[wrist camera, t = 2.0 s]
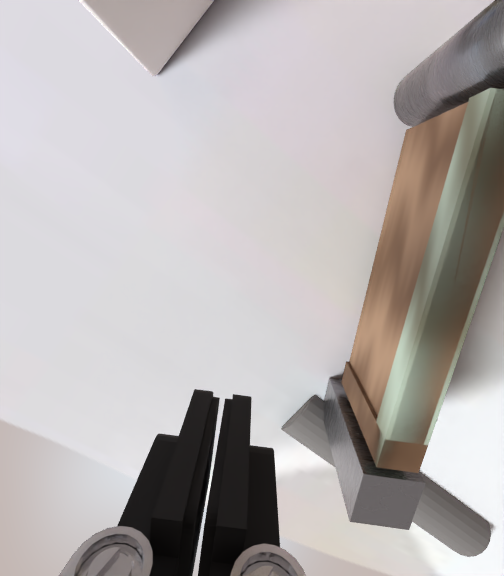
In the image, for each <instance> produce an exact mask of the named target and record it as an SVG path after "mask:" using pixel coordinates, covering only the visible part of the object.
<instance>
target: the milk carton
mask: <svg viewBox="0 0 504 576" xmlns="http://www.w3.org/2000/svg"><path fill="white" fill-rule="evenodd" d="M78 1H79V2H80V3H81V4H82V5H83V6H84V7H85V8H86V9H87V10H88V11H89V12H90V13H91V14H92V15H93V16H94V17H95V18H96V19H97V20H98V21H99V22H100V23H101V24H102V25H103V26H104V27H105V28H106V29H107V30H108V31H109V32H110V33H111V34H112V35H113V36H114V37H115V38H116V39H117V40H118V42H119V43H120V44H121V45H122V46H123V47H124V48H125V49H126V50H127V51H128V52H129V53H130V54H131V55H132V56H133V57H134V58H135V59H136V60H137V61H138V62H139V63H140V64H141V65H142V66H143V67H144V68H145V69H146V70H147V71H148V72H149V73H150V74H151V75H152V76H156V75H157V74H158V73H159V72H160V70H161V69H162V68H163V67H164V65H165V64H166V63H167V61H168V60H169V59H170V57H171V56H172V55H173V54H174V52H175V51H176V50H177V48H178V47H179V46H180V44H181V43H182V42H183V41H184V39H185V38H186V37H187V35H188V34H189V33H190V31H191V30H192V29H193V27H194V26H195V25H196V24H197V22H198V21H199V20H200V18H201V17H202V16H203V14H204V13H205V12H206V10H207V9H208V8H209V7H210V5H211V4H212V3H213V1H214V0H78Z"/></svg>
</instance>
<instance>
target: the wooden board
mask: <svg viewBox="0 0 504 576" xmlns="http://www.w3.org/2000/svg"><path fill="white" fill-rule="evenodd" d="M503 228H504V89H497V88H489V89H487V90H485V91H483V92H481V93H479V94H477V95H475V96H472V97H470V98H469V101H468V102H467V103H464V104H462V105H460V106H458V107H456V108H454V109H451V110H449V111H447V112H445V113H443V114H440V115H438V116H436V117H434V118H432V119H430V120H427V121H425V122H423V123H421V124H419V125H417V126H414V127H412V128H410V129H408V130H406V133H405V137H404V142H403V146H402V150H401V154H400V158H399V162H398V166H397V170H396V174H395V178H394V182H393V186H392V190H391V194H390V198H389V203H388V207H387V211H386V215H385V219H384V223H383V227H382V231H381V235H380V239H379V243H378V247H377V251H376V255H375V260H374V264H373V268H372V272H371V276H370V280H369V284H368V288H367V292H366V296H365V300H364V304H363V308H362V312H361V316H360V321H359V325H358V329H357V333H356V337H355V341H354V345H353V349H352V353H351V357H350V361H349V362H347V361H346V365H345V369H344V373H343V378H342V385H343V387H344V390H345V392H346V395H347V397H348V399H349V402H350V404H351V407H352V409H353V412H354V414H355V416H356V419H357V421H358V424H359V426H360V428H361V431H362V433H363V436H364V438H365V441H366V443H367V445H368V448H369V450H370V453H371V455H372V458H373V460H374V462H375V465H376V467H379V468H386V469H393V470H400V471H407V472H414V473H419V470H420V467H421V464H422V461H423V458H424V455H425V452H426V450H427V447H428V444H429V441H430V438H431V435H432V432H433V429H434V427H435V424H436V421H437V418H438V415H439V412H440V409H441V406H442V404H443V401H444V398H445V395H446V392H447V389H448V386H449V384H450V381H451V378H452V375H453V372H454V369H455V366H456V363H457V361H458V358H459V355H460V352H461V349H462V346H463V343H464V340H465V338H466V335H467V332H468V329H469V326H470V323H471V320H472V317H473V315H474V312H475V309H476V306H477V303H478V300H479V297H480V294H481V292H482V289H483V286H484V283H485V280H486V277H487V274H488V271H489V269H490V266H491V263H492V260H493V257H494V254H495V251H496V248H497V246H498V243H499V240H500V237H501V234H502V231H503Z"/></svg>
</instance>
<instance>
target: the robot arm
mask: <svg viewBox="0 0 504 576" xmlns="http://www.w3.org/2000/svg"><path fill="white" fill-rule="evenodd" d="M218 407H219V398H217V397H213V392H211V391H204V390H196V389H195V390H194V393H193V396H192V399H191V402H190V405H189V407H188V410H187V413H186V416H185V419H184V422H183V425H182V428H181V431H180V434H179V436H173V435H166V434H158V435H157V436H156V438H155V440H154V442H153V445H152V447H151V449H150V452H149V454H148V456H147V459H146V461H145V463H144V466H143V468H142V470H141V473H140V475H139V477H138V479H137V482H136V484H135V486H134V489H133V491H132V493H131V496H130V498H129V500H128V503H127V505H126V507H125V510H124V512H123V514H122V517H121V519H120V521H119V524H118V526H117V527H112V528H107V529H105V530H103V531H100V532H98V533H96V534H94V535H93V536H92V537H91V538H89V539H88V540H86V541H85V542H84V543H83V544H82V545H81V546H80V547H79V548H78V549H77V551H76V552H75V553H74V554H73V555H72V557H71V558H70V560H69V561H68V563H67V564H66V566H65V567H64V569H63V570H62V572H61V573H60V575H59V576H192V574H193V569H194V563H195V557H196V552H197V546H198V540H199V534H200V529H201V523H202V517H203V512H204V506H205V500H206V495H207V489H208V483H209V477H210V469H211V462H212V454H213V446H214V438H215V430H216V422H217V415H218ZM250 423H251V397H249V396H242V395H234V394H233V399H225V404H224V410H223V416H222V422H221V428H220V434H219V440H218V446H217V452H216V458H215V464H214V470H213V476H212V482H211V488H210V494H209V500H208V506H207V512H206V519H205V525H204V533H203V541H202V548H201V556H200V563H199V571H198V576H306V575H305V572H304V570H303V568H302V567H301V566H300V564H299V563H298V561H297V560H296V559H295V558H294V557H293V556H292V555H291V554H289V553H288V552H287V551H286V550H284V549H282V548H280V542H279V524H278V508H277V492H276V477H275V461H274V450H273V448H266V447H258V446H251V445H250Z"/></svg>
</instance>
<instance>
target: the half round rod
mask: <svg viewBox="0 0 504 576" xmlns="http://www.w3.org/2000/svg"><path fill="white" fill-rule="evenodd" d="M323 419H324V401H323V400H321V399H320V398H319V397H317V396H316V395H315V396H312V397H311V398H310V399H309V400H308V401H307V402H306V403H305V404H304V405H303V406H302V407H301V408H300V409H299V410H298V411H297V412H296V413H295V414H294V415H293V416H292V417H291V418H290V419H289V420H288V421H287V422H286V423H285V424H284V425H283V426H282V430H283V431H284V432H286V433H287V434H289V435H290V436H292V437H293V438H294V439H296V440H297V441H299V442H300V443H301V444H303V445H304V446H306V447H307V448H309V449H310V450H311V451H313V452H314V453H316V454H317V455H319V456H320V457H321V458H323V459H324V460H326V461H327V462H328V463H330V464H331V465H333V466H334V467H335V463H334V459H333V456H332V452H331V448H330V444H329V440H328V436H327V433H326V429H325V425H324V421H323ZM420 474H421V475H422V477H423V479H424V481H425V482H426V484H425V486H424V489H423V492H422V495H421V498H420V500H419V503H418V506H417V509H416V512H415V514H414V517H413V520H412V522H414V523H415V524H417V525H418V526H419V527H421V528H422V529H424V530H425V531H427V532H428V533H429V534H431V535H432V536H434V537H435V538H436V539H438V540H439V541H441V542H442V543H444V544H445V545H446V546H448V547H449V548H451V549H452V550H454V551H455V552H457V553H459V554H460V555H464V556H468V557H470V556H476V555H479V554H481V553H482V552H483V551H484V550H485V549H486V548H487V546H488V544H489V542H490V537H491V532H490V526H489V524H488V522H487V521H486V520H484V519H483V518H482V517H480V516H479V515H478V514H476V513H475V512H474V511H472V510H471V509H470V508H468V507H467V506H465V505H464V504H463V503H461V502H460V501H459V500H457V499H456V498H455V497H453V496H452V495H450V494H449V493H448V492H446V491H445V490H444V489H442V488H441V487H440V486H438V485H437V484H436V483H434V482H433V481H431V480H430V479H429V478H427V477H426V476H425V475H423V474H422V473H421V472H420Z"/></svg>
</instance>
